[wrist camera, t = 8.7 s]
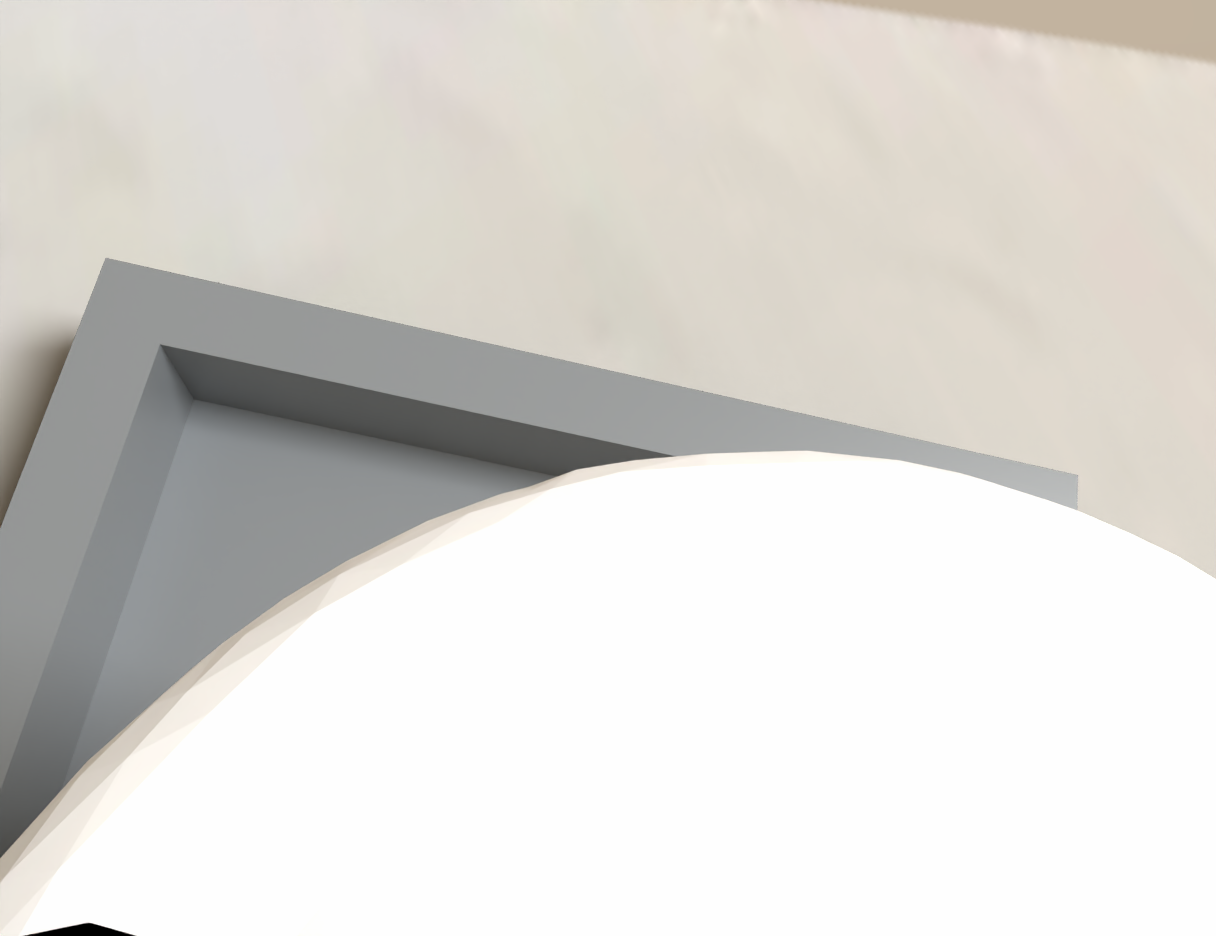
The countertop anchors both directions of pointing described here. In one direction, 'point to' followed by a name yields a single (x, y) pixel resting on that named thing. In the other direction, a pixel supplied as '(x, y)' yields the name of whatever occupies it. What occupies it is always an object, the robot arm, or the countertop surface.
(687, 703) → the sprinkles bottle
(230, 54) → the countertop surface
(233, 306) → the box
